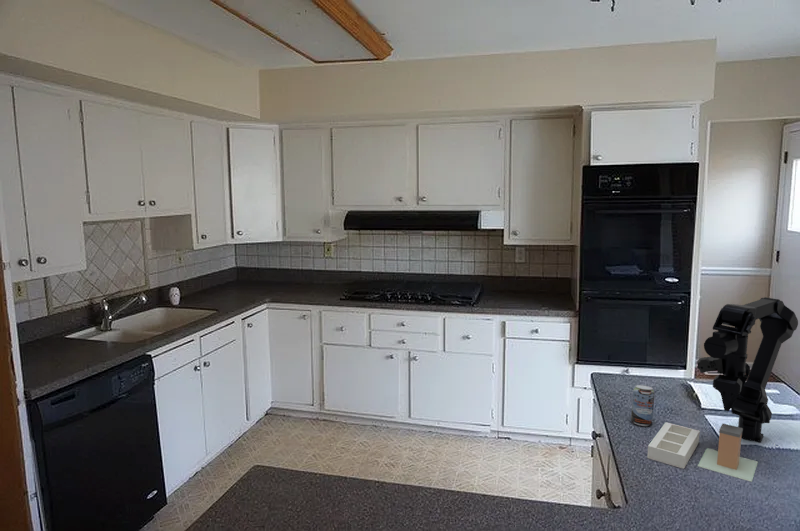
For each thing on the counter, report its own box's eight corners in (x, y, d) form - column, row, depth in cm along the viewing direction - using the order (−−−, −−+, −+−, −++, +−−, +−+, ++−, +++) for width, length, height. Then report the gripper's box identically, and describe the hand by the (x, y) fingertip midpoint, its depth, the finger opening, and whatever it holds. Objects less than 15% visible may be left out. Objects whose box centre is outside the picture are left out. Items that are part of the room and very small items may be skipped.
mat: (706, 449, 150) (707, 447, 150) (757, 463, 143) (758, 461, 143) (697, 468, 141) (697, 465, 141) (751, 483, 134) (751, 481, 134)
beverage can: (630, 427, 165) (632, 390, 163) (630, 417, 172) (632, 381, 170) (653, 430, 162) (655, 392, 161) (652, 420, 169) (654, 384, 167)
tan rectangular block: (719, 457, 145) (722, 423, 144) (739, 462, 142) (742, 428, 141) (716, 464, 142) (719, 429, 140) (736, 470, 139) (739, 434, 137)
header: (664, 434, 160) (665, 422, 159) (698, 443, 154) (699, 430, 153) (647, 459, 146) (648, 445, 145) (683, 470, 140) (684, 456, 140)
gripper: (707, 337, 158) (703, 387, 161) (693, 354, 144) (689, 409, 147) (752, 344, 151) (747, 397, 154) (742, 362, 137) (737, 420, 140)
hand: (729, 405), depth 149 cm, fingers open, 9 cm apart
